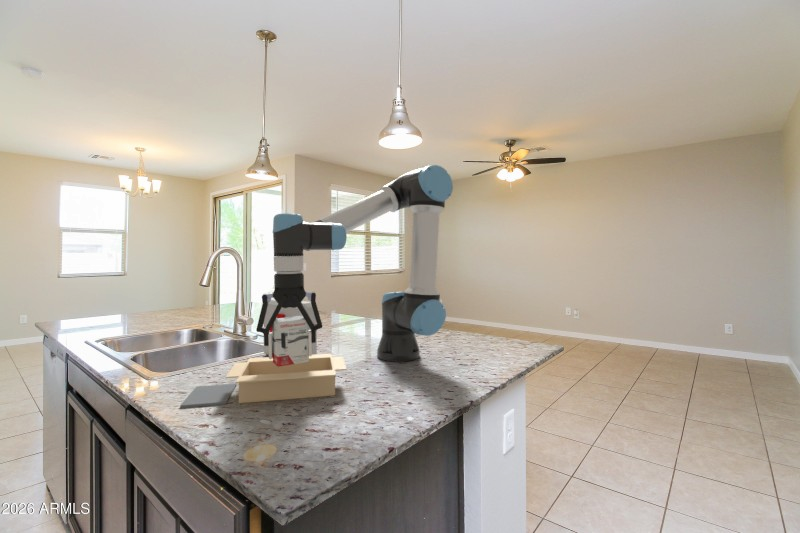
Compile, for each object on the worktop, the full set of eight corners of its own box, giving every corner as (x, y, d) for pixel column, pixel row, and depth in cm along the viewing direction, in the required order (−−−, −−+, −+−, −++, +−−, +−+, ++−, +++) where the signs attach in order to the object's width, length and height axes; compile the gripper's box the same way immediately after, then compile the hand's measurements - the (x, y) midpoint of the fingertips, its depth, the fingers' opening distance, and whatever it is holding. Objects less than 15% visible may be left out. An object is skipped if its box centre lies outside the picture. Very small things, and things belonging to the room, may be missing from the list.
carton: (341, 374, 114) (341, 352, 114) (348, 399, 94) (348, 373, 94) (238, 381, 107) (238, 358, 107) (222, 410, 87) (221, 382, 87)
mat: (236, 385, 104) (236, 383, 104) (226, 404, 91) (225, 401, 91) (196, 388, 101) (196, 386, 101) (180, 407, 89) (180, 405, 89)
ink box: (277, 367, 96) (276, 321, 96) (272, 362, 100) (271, 318, 100) (309, 361, 101) (308, 317, 100) (303, 357, 105) (302, 315, 105)
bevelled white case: (259, 356, 133) (258, 300, 133) (277, 351, 140) (277, 298, 140) (301, 365, 122) (301, 304, 122) (318, 360, 129) (318, 302, 128)
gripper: (330, 270, 106) (331, 349, 107) (246, 272, 101) (249, 355, 102) (332, 272, 98) (333, 356, 99) (241, 274, 93) (244, 363, 94)
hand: (290, 356), depth 101 cm, fingers closed on ink box, 9 cm apart
